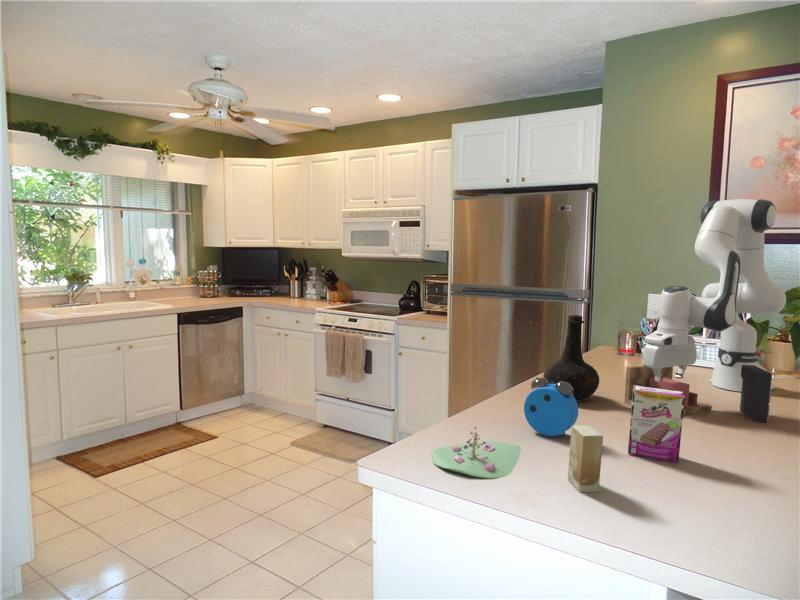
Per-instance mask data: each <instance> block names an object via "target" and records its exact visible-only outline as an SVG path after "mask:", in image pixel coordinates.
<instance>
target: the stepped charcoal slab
mask: <svg viewBox="0 0 800 600" xmlns="http://www.w3.org/2000/svg"><path fill="white" fill-rule="evenodd" d="M765 370H766V369H765ZM765 370H763V369H761V368H759V367H757V366H754V365H742V368H741V377H742V379H743V381H742V391H741V392H740V394H741V395H740V404H739V412H740V413H742V414H743V415H745V416H747V417H748V418H749V419H751V420H752V421H754V422H755V423H756V422H757V423H765V424H766V423H767V422H768V421H769V420H770V418H769V417H770V409H771V407H770V404H771V398H772V390H771V388H770V387H771V384H772V381H773V374H772V373H771V372H769V371H768V370H766V371H765Z"/></svg>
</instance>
